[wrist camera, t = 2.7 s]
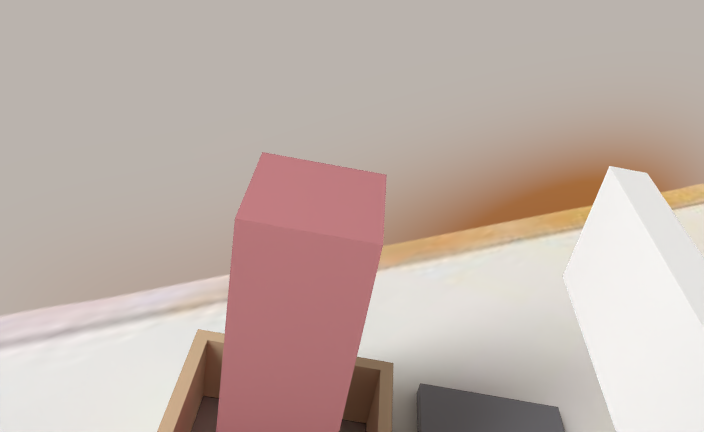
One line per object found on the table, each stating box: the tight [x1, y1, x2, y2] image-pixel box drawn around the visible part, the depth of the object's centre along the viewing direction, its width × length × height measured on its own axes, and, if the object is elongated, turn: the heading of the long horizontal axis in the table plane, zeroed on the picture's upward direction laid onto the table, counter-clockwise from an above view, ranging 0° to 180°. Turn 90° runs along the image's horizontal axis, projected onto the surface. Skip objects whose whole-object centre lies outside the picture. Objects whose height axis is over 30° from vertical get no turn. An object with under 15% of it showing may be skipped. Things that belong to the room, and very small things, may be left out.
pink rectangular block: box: [216, 152, 386, 432], centre depth 35 cm, size 6×6×20 cm
